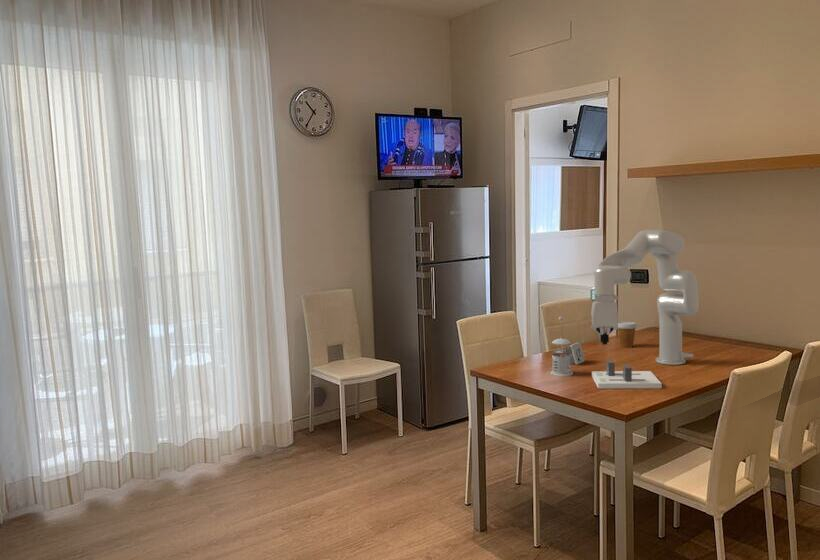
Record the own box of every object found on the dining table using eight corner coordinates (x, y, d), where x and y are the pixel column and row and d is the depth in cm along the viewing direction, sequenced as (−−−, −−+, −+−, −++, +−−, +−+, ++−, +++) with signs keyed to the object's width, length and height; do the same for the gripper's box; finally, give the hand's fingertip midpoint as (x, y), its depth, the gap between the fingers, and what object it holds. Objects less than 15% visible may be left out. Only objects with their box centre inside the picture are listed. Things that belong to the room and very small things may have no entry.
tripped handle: (629, 377, 258) (629, 365, 258) (631, 381, 253) (631, 368, 253) (623, 377, 258) (622, 365, 258) (625, 381, 254) (625, 368, 253)
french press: (550, 376, 274) (549, 318, 272) (549, 369, 286) (548, 314, 283) (574, 376, 273) (573, 318, 270) (572, 369, 284) (571, 313, 281)
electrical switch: (577, 365, 291) (575, 345, 290) (566, 365, 294) (564, 345, 293) (585, 361, 298) (583, 341, 297) (575, 361, 301) (573, 341, 301)
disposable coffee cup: (618, 343, 331) (618, 321, 330) (637, 344, 327) (637, 321, 326) (615, 347, 323) (615, 324, 322) (635, 348, 319) (635, 325, 317)
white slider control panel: (650, 375, 268) (650, 358, 267) (661, 388, 249) (661, 369, 249) (591, 375, 272) (591, 358, 271) (598, 388, 253) (598, 369, 252)
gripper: (622, 297, 256) (622, 342, 258) (584, 297, 258) (584, 342, 260) (625, 299, 249) (625, 345, 250) (586, 300, 251) (586, 346, 253)
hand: (604, 343), depth 255 cm, fingers closed
